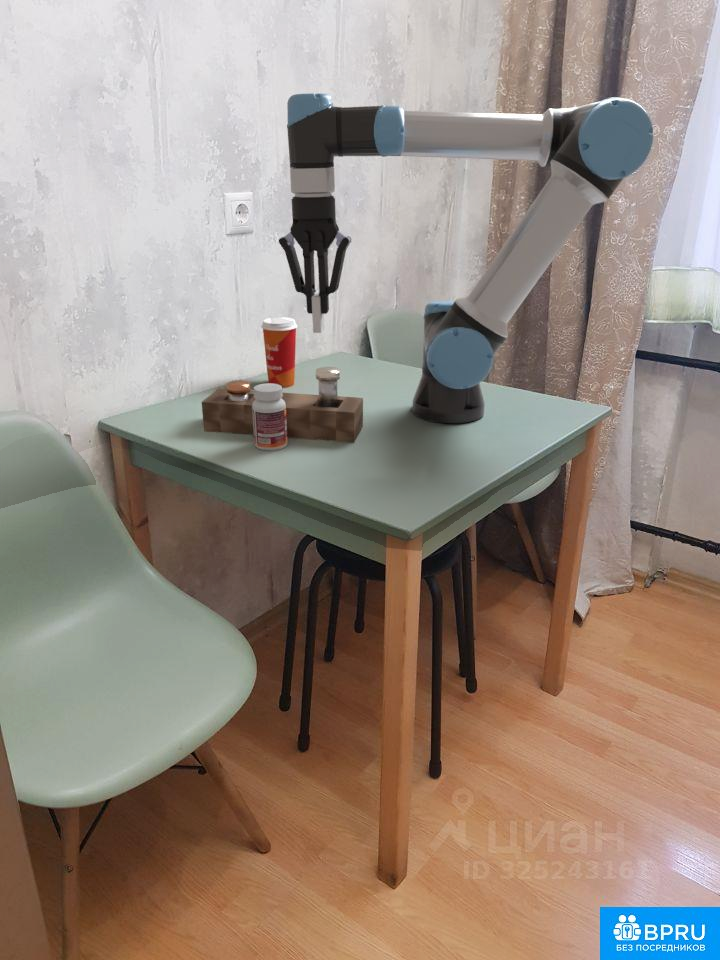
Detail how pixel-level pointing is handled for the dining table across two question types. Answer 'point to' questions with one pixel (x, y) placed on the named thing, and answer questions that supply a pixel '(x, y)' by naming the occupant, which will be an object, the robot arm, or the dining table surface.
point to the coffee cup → (280, 350)
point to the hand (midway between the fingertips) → (318, 331)
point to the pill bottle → (269, 417)
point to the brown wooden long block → (287, 416)
